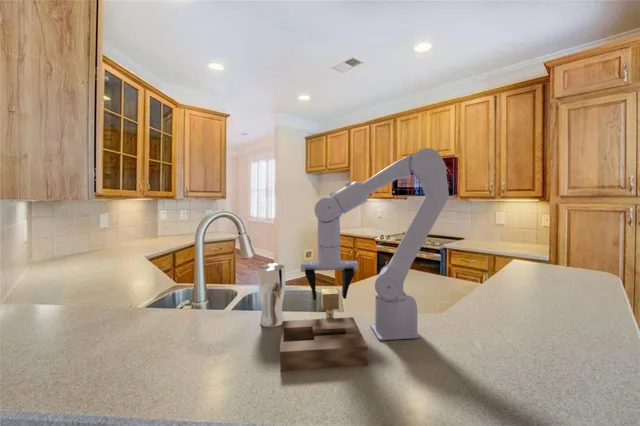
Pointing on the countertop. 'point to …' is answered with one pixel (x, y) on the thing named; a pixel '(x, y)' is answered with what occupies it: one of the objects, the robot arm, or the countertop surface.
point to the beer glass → (271, 294)
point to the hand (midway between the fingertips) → (329, 297)
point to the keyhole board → (322, 344)
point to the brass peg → (329, 301)
